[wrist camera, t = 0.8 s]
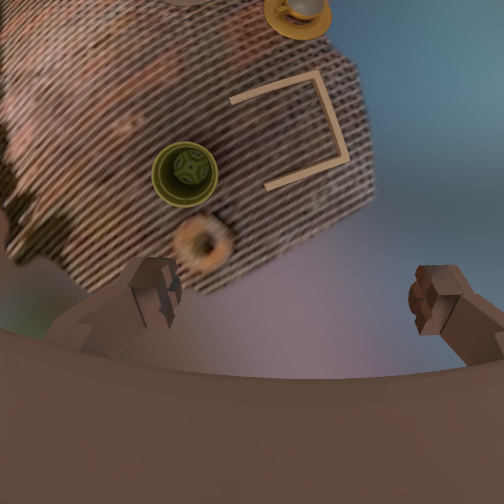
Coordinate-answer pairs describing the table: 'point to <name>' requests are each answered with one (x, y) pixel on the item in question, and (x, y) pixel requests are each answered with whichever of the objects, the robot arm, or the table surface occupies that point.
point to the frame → (329, 116)
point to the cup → (298, 17)
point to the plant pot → (184, 174)
